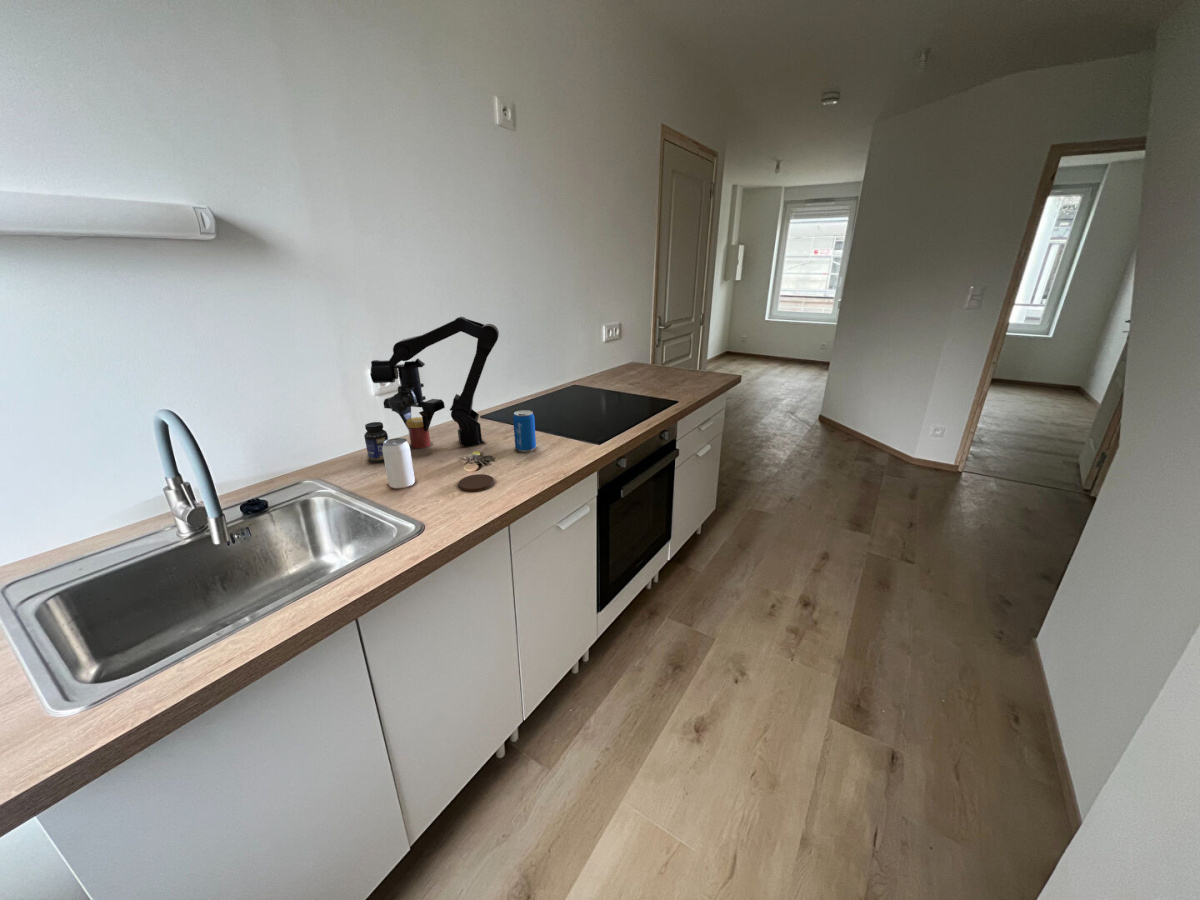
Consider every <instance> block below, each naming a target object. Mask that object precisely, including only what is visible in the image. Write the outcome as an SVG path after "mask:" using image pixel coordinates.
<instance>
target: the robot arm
mask: <svg viewBox="0 0 1200 900" xmlns="http://www.w3.org/2000/svg"><path fill="white" fill-rule="evenodd" d="M461 332H462V333H464V334H466V335H468V336H471V337H473V338H475V339H477V341H476V350H475V355H474V358H473V361H472V363H471V366H470V369H469V371H468V374H467V378H466V381H465V383H464V386H463V389H462V391H461V394H460V395H459V394H457V393H456V394H455V395H454V397H453V400H452V403H451V406H450V408H449V411H450V417H451V419H452V420H453V421H454V422H455V423H457V425H458V429H457V437H458V442H459V443H460V444H461V445H462V446H463V447H464V448H465V447H470V446H476V445H482V444H484V440H483V438H482V437H483V436H482V428H481V423H479V421H478V420H479V417H480V414H479V413H478V412H477V411H475V410H474V409H473V405H474V397H475V392H476V390H477V387H478V384H479V381H480V379H481V376H482V373H483V371H484V367H485V365H486V362H487V359H488V357H489V355H490V353H491V352H492V351H493V348H494V347H495V346H496V343H497V342H498V340H499V337H500V331H499V329H498V327H497V326H496V325H494V323H493V324H492V323H485V324H484V323H481V322H478V321H475V320H472V319H468V318H466V317H464V316H458V317H456V318H455V319H454V320H452V321H449V322H447V323H445V324H443V325H441V326H439V327H436V328H434V329H432V330H430V331H427V332H425V333H423V334H420V335H416V336H415V335H414V336H412V337H407V338H403V339H401V340H399V341H397V342H396V343H395V344H394V345H393V347H392V353H393V354H392V355H391V357H390V358H389V360H378V359H373V360H371V361H370V364H371V366H370V374H369V375H370V379H371V382H372V383H373V384H388V383H391V384H392V383H395V382H396V380H398V379H399V383H400V385H398V386H397V393H395V394H393V396H390V397H389V396H388V397H386V398H384V400H383V403H382V404H383V408H384V409H387V410H388V409H389V410H391V411H392V412H395V413H396V414H398V416H399V417H400V418H401V420H402V422H403V423H404V425H405V427H406V429H408V427H407V424H406V421H407V420H408V419H411V418H412V408H421V409H422V410H421V411H419V412H418V414H419V415H420V417H422V419H423V425H424V429H425V431H428V429H429V430H430V425H431V423H432V419H433V417H434V415H435V413H437V412H439V411H441V410H443V409H445V408H446V407H445V402H444V400H442V399H439V398H430V399H428V400H427V398H426V395H425V396H424V395H423V391H422V390H423V389H422V388H424V387H425V385H424V383H422V382H421V378H420V371H419V368H424V366H425V365H426V363H425V362H423V361H422V360H420V358H416V359H415V360H412V361H410V360H411V359H413V358H414V357H415V356H417V355H418V354H419V353H422V352H423V351H424V350H425V349H426V348H428V347H430V346H433V345H435V344H438V343H439V342H441V341H444V340H445V339H447V338H451V337H452V336H454V335H457V334H458V333H461ZM401 362H404V364H399V363H401ZM425 400H426V401H425Z"/></svg>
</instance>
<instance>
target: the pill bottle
mask: <svg viewBox="0 0 1200 900" xmlns="http://www.w3.org/2000/svg"><path fill="white" fill-rule="evenodd" d="M364 427H365V431H366V432H365V433H364V435H363V436H364V437H363V438H364V441H365V447H366V453H367V457H368V460H369V462H371V463H385V462H384V457H383V451H382V448H383V442H384V441H386V440H388V439H389V437H388V433H387V430H384V423H383V422H381V421H372V422H368V423H366V424H365V425H364Z"/></svg>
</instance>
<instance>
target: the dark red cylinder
mask: <svg viewBox="0 0 1200 900" xmlns="http://www.w3.org/2000/svg"><path fill="white" fill-rule="evenodd" d="M407 430H408V431H407V432H408V435H409V442H410V448H412V449H416V450H417V449H425V448H428V447H430V446H431V445H432V443H431V437H430V428H429V429H428V431H425V429H424V427H419V428H409V427H408V428H407Z"/></svg>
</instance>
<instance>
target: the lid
mask: <svg viewBox="0 0 1200 900" xmlns="http://www.w3.org/2000/svg"><path fill="white" fill-rule="evenodd" d="M406 424H407V427H409V428H419V427H424V425H423V419H422V416H416V417H411V419H408V420H407V421H406ZM407 427H406V428H407Z"/></svg>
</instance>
